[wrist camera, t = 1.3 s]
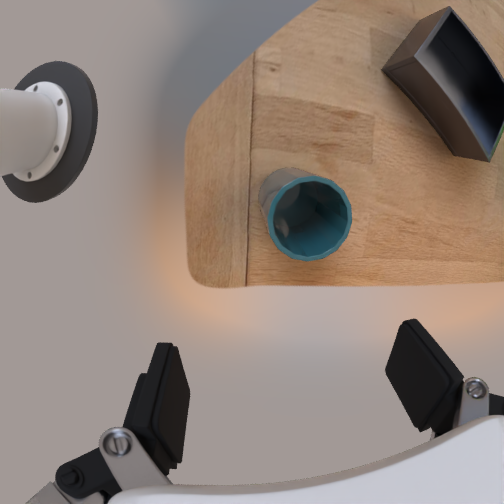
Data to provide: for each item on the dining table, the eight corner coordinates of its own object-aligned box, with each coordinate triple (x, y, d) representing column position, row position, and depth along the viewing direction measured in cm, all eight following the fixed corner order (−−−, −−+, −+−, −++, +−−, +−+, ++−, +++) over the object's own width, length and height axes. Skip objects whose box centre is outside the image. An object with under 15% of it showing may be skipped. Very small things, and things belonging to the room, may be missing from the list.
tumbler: (245, 205, 28) (250, 230, 20) (283, 155, 26) (304, 158, 18) (294, 239, 30) (316, 275, 22) (330, 192, 28) (367, 211, 20)
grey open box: (380, 69, 23) (413, 56, 16) (419, 20, 19) (449, 5, 13) (453, 156, 27) (489, 162, 20) (482, 99, 23) (514, 99, 17)
